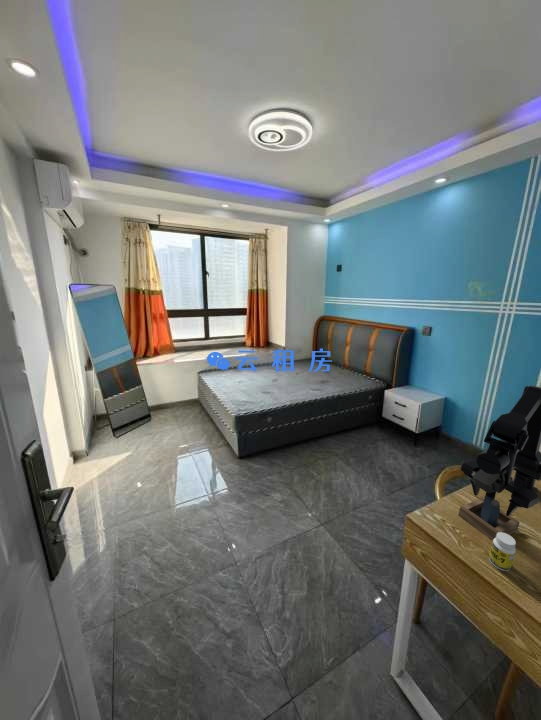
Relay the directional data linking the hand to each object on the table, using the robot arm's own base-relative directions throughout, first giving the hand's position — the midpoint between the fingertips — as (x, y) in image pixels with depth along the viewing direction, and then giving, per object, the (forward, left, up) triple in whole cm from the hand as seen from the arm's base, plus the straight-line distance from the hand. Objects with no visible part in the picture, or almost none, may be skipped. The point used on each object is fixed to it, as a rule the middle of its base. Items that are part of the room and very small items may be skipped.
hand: (491, 504), depth 89 cm
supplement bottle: (+12, +10, -7) cm, 17 cm away
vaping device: (0, 0, -6) cm, 6 cm away
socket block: (0, 0, -6) cm, 6 cm away
